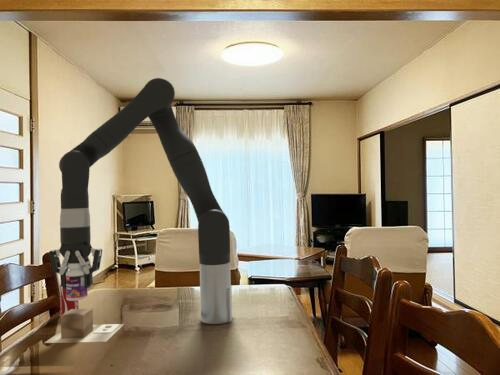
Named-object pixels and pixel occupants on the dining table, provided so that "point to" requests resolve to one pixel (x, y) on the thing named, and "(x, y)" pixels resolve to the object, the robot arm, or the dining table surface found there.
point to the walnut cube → (76, 323)
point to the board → (89, 338)
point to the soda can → (66, 302)
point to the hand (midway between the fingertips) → (76, 287)
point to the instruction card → (106, 328)
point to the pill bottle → (75, 282)
